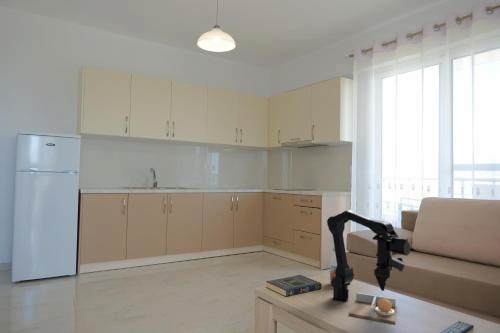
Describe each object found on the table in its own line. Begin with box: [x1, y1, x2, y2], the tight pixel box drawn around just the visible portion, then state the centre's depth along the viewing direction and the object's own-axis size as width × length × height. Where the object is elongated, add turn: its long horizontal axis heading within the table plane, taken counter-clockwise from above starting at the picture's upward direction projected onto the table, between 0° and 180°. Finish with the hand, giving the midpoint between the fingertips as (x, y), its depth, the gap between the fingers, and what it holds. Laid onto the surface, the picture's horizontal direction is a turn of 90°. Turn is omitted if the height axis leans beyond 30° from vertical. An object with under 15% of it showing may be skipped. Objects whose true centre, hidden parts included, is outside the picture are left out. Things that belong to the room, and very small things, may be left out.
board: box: [348, 292, 398, 325], centre depth 148 cm, size 18×18×4 cm
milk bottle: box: [329, 247, 337, 285], centre depth 187 cm, size 8×8×20 cm
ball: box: [378, 299, 392, 313], centre depth 145 cm, size 6×6×6 cm
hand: (383, 287), depth 148 cm, fingers open, 9 cm apart
